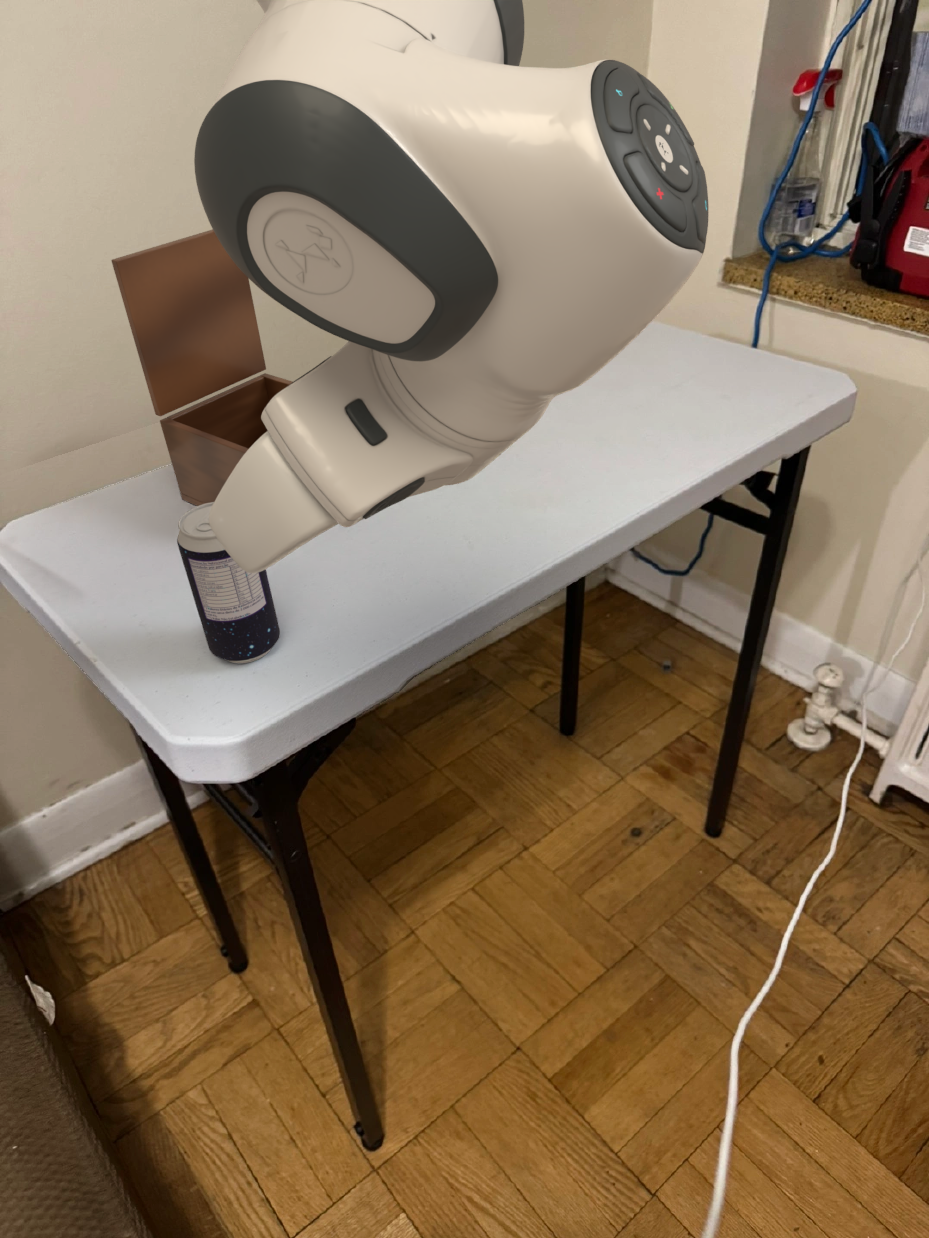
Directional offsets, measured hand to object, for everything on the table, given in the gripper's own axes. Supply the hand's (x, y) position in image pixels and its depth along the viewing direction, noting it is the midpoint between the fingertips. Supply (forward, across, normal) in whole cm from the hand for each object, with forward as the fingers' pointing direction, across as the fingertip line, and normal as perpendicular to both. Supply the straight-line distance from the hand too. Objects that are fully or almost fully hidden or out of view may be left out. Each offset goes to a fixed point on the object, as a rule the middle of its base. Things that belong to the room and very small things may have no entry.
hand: (325, 508), depth 53 cm
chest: (+32, -19, -9) cm, 39 cm away
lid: (+25, -19, -25) cm, 40 cm away
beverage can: (+20, 0, +3) cm, 21 cm away
